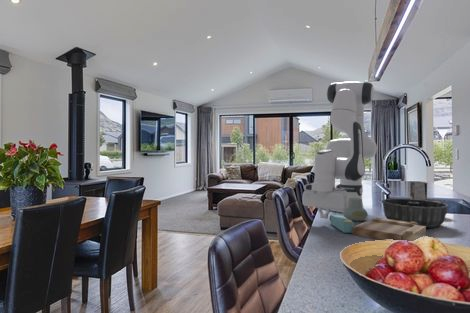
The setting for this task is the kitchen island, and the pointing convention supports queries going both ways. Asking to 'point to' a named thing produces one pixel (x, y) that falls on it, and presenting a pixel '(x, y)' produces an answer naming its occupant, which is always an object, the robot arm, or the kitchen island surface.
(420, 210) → the bundt pan
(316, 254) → the kitchen island surface
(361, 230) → the tan box with knobs
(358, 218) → the air freshener
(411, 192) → the coffee box
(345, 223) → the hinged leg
